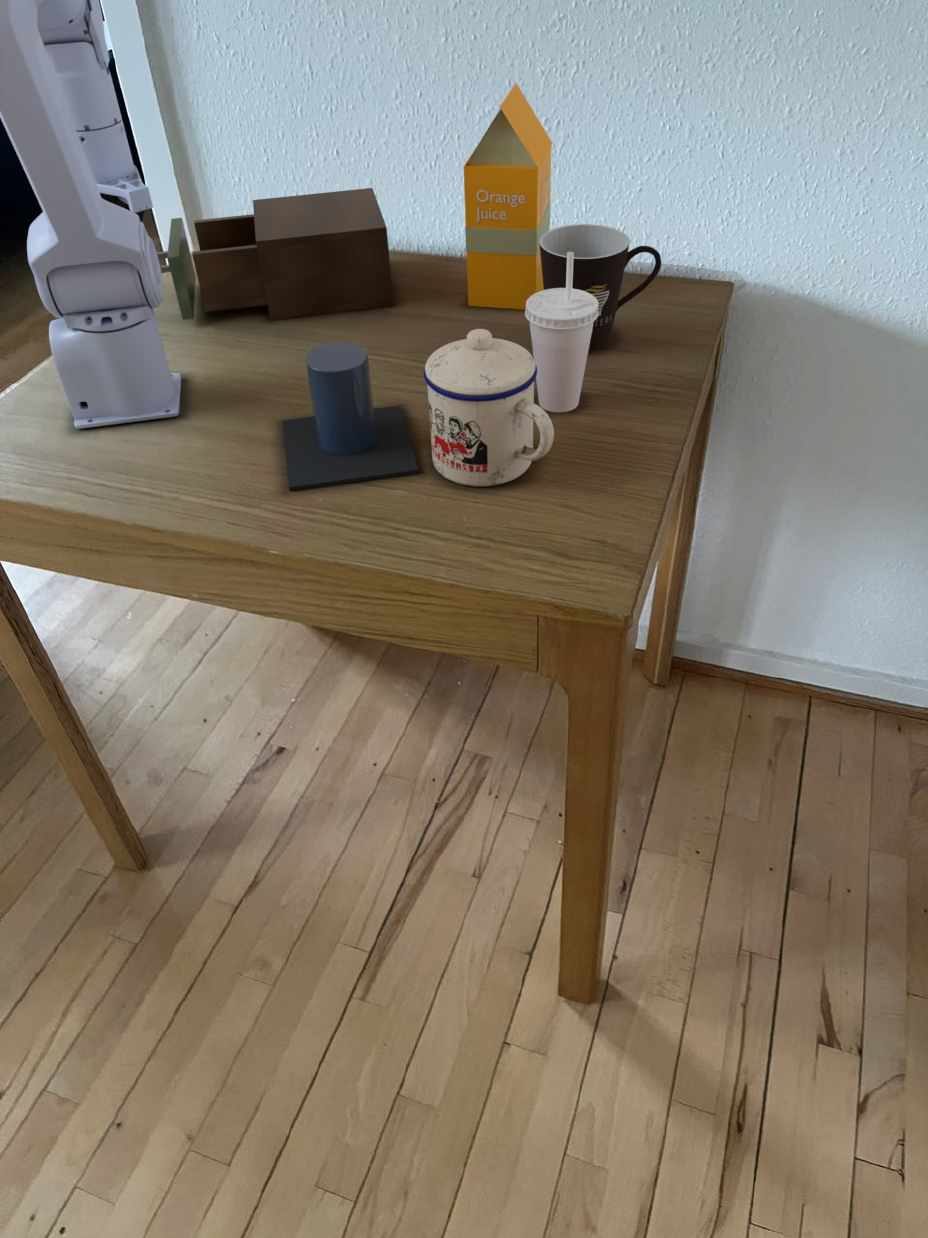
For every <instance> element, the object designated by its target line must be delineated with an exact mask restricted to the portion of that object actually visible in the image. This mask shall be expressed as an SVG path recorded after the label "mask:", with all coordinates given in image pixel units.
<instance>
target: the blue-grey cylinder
mask: <svg viewBox="0 0 928 1238" xmlns="http://www.w3.org/2000/svg"><path fill="white" fill-rule="evenodd" d="M304 361H305V368H306V374H307V380H308V386H309V393H310V398H311V405H312V410H313V417H314V418H315V424H316V430H317V436H318V442H319V445H320V447H321V448H322V449H323V450H324V451H326V452H329V453H331V454H336V455H351V454H356V453H360V452H363V451H365V450H367V449H369V448H370V447H371V446H373V445H374V443H375V442H376V439H377V432H376V423H375V414H374V409H375V406H374V398H373V388H372V380H371V372H370V363H369V354H368V351H367V349H366V348H365V347H363V346H362V345H359V344H356V343H354V342H353V343H352V342H346V341H345V342H344V341H343V342H342V341H340V342H338V341H337V342H330V343H325V344H321V345H319V346H317V347H314V348H313V349H311V350H310V351H309V352H307V354H306V355H305V360H304Z"/></svg>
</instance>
